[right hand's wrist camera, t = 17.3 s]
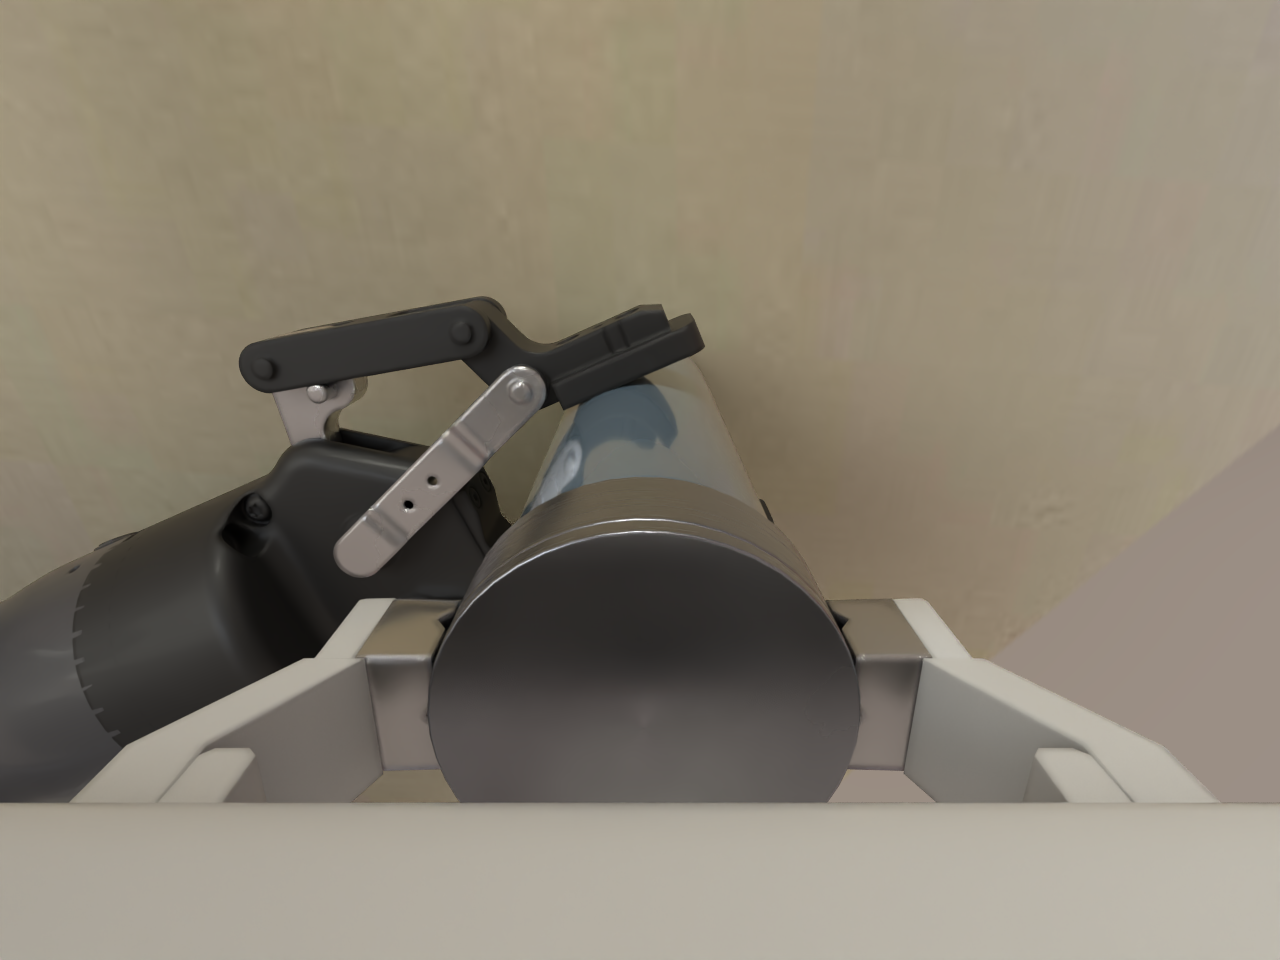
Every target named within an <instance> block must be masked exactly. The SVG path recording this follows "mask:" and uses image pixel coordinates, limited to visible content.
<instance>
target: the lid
mask: <svg viewBox="0 0 1280 960" xmlns="http://www.w3.org/2000/svg"><path fill="white" fill-rule="evenodd" d="M860 702H861V696H860V689H859V683H858V677H857V671H856V668H855V665H854V662H853V659H852V656H851V653H850V650H849V648H848V646H847V644H846V642H845V640H844V638H843V636H842V634H841V632H840V630H839V628H838V626H837V624H836V622H835V620H834V618H833V616H832V614H831V612H830V610H829V608H828V606H827V604H826V602H825V600H824V598H823V596H822V594H821V592H820V590H819V588H818V586H817V584H816V582H815V580H814V578H813V576H812V574H811V572H810V570H809V568H808V566H807V564H806V562H805V560H804V559H803V557H802V556H801V555H800V553H799V552H798V551H797V549H796V548H795V546H794V545H793V544H792V542H791V541H790V540H789V539H788V538H787V537H786V536H785V535H784V534H783V533H782V532H781V531H780V530H779V529H778V528H777V527H776V525H774V524H773V523H772V522H771V521H769V520H768V519H767V518H766V517H764V516H763V515H762V514H760V513H759V512H758V511H757V510H755V509H753V508H752V507H750V506H748V505H746V504H745V503H743V502H741V501H740V500H738V499H736V498H734V497H732V496H730V495H727V494H725V493H722V492H720V491H718V490H715V489H713V488H710V487H706V486H703V485H699V484H695V483H692V482H688V481H682V480H676V479H669V478H662V477H629V478H619V479H609V480H605V481H600V482H596V483H592V484H587V485H583V486H581V487H578V488H575V489H573V490H570V491H567V492H564V493H562V494H559V495H557V496H556V497H554V498H552V499H550V500H548V501H546V502H544V503H542V504H540V505H538V506H537V507H535V508H534V509H533V510H531V511H530V512H528V513H527V514H526V515H524V516H523V517H521V518H520V519H518V520H517V521H516V522H515V523H514V524H513V525H512V526H511V527H510V528H509V529H508V530H507V531H506V532H505V533H503V534H502V535H501V537H500V538H499V539H498V540H497V542H496V543H495V544H494V545H493V546H492V548H491V549H490V550H489V551H488V553H487V554H486V556H485V558H484V559H483V561H482V563H481V564H480V566H479V568H478V570H477V571H476V573H475V575H474V577H473V579H472V581H471V584H470V586H469V588H468V590H467V592H466V594H465V596H464V598H463V600H462V602H461V604H460V606H459V608H458V610H457V612H456V615H455V617H454V619H453V621H452V623H451V625H450V627H449V629H448V631H447V633H446V635H445V637H444V639H443V642H442V644H441V647H440V649H439V652H438V654H437V657H436V659H435V662H434V664H433V669H432V673H431V678H430V682H429V687H428V703H427V715H428V725H429V734H430V738H431V742H432V746H433V750H434V753H435V757H436V760H437V762H438V764H439V767H440V769H441V771H442V773H443V776H444V778H445V780H446V781H447V783H448V785H449V786H450V788H451V790H452V791H453V793H454V794H455V796H456V798H457V799H458V800H459V802H460V803H827V802H828V801H829V799H830V798H831V797H832V795H833V794H834V792H835V791H836V789H837V788H838V786H839V785H840V783H841V781H842V779H843V777H844V775H845V773H846V771H847V769H848V767H849V764H850V761H851V758H852V755H853V752H854V749H855V746H856V743H857V737H858V731H859V725H860Z"/></svg>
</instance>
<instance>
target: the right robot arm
mask: <svg viewBox="0 0 1280 960" xmlns="http://www.w3.org/2000/svg"><path fill="white" fill-rule="evenodd" d="M461 602H462V600H442V599H396V598H375V599H362V600H359V601H358V603H357V604H356V605H355V606H354V608H353V609H352V610H351V612H350V613H349V614H348V616H347V617H346V618H345V619H344V621H343V622H342V623H341V625H340V626H339V627H338V628H337V630H336V631H335V632H334V634H333V635H332V636H331V638H330V639H329V640H328V641H327V643H326V644H325V645H324V647H323V648H322V649H321V651H320V652H319V653H318V654H317V656H316V657H315V658H304V659H301V660H299V661H297V662H295V663H293V664H291V665H289V666H287V667H285V668H283V669H281V670H279V671H277V672H275V673H273V674H271V675H269V676H267V677H265V678H263V679H261V680H259V681H257V682H255V683H252V684H250V685H248V686H246V687H244V688H242V689H240V690H238V691H236V692H234V693H232V694H230V695H228V696H226V697H224V698H222V699H220V700H218V701H216V702H214V703H212V704H210V705H208V706H206V707H203V708H201V709H199V710H197V711H195V712H193V713H191V714H189V715H187V716H185V717H183V718H181V719H179V720H177V721H175V722H173V723H171V724H169V725H167V726H165V727H163V728H161V729H159V730H157V731H154V732H152V733H150V734H148V735H146V736H144V737H142V738H140V739H138V740H136V741H134V742H132V743H130V744H128V745H126V746H125V747H124V748H123V749H122V750H121V751H120V752H119V753H118V754H117V755H116V756H115V757H114V758H113V759H112V760H111V761H110V762H109V763H108V764H107V765H106V766H105V767H104V768H103V769H102V770H101V771H100V772H99V773H98V774H97V775H96V776H95V777H94V778H93V779H92V780H91V781H90V782H89V783H88V784H87V785H86V786H85V787H84V788H83V789H82V790H81V791H80V792H79V793H78V794H77V795H76V796H75V797H74V798H73V799H72V800H71V801H70V802H69V803H0V960H1280V803H1221V802H1220V801H1219V800H1218V799H1217V798H1216V797H1215V796H1214V795H1213V794H1212V793H1211V792H1210V791H1209V790H1208V789H1207V788H1206V787H1205V786H1204V785H1203V784H1202V783H1201V782H1200V781H1199V780H1198V779H1197V778H1196V777H1195V776H1194V775H1193V774H1192V773H1191V772H1190V771H1189V770H1188V769H1187V768H1186V767H1185V766H1184V765H1183V764H1182V763H1181V762H1180V761H1179V760H1178V759H1177V758H1176V757H1175V756H1174V755H1173V754H1172V753H1171V752H1170V751H1169V750H1168V749H1166V748H1165V747H1164V746H1163V745H1161V744H1159V743H1157V742H1155V741H1152V740H1150V739H1148V738H1146V737H1144V736H1142V735H1140V734H1138V733H1136V732H1134V731H1132V730H1130V729H1128V728H1126V727H1124V726H1122V725H1120V724H1118V723H1115V722H1113V721H1111V720H1109V719H1107V718H1105V717H1103V716H1101V715H1099V714H1097V713H1095V712H1093V711H1091V710H1089V709H1087V708H1085V707H1083V706H1080V705H1078V704H1076V703H1074V702H1072V701H1070V700H1068V699H1066V698H1064V697H1062V696H1060V695H1058V694H1056V693H1054V692H1052V691H1050V690H1048V689H1046V688H1044V687H1041V686H1039V685H1037V684H1035V683H1033V682H1031V681H1029V680H1027V679H1025V678H1023V677H1021V676H1019V675H1017V674H1015V673H1013V672H1011V671H1009V670H1006V669H1005V668H1002V667H1000V666H998V665H996V664H994V663H992V662H990V661H988V660H986V659H984V658H972V657H971V655H970V654H969V653H968V651H967V650H966V649H965V648H964V646H963V645H962V644H961V643H960V641H959V640H958V639H957V638H956V636H955V635H954V634H953V633H952V631H951V630H950V629H949V628H948V626H947V625H946V624H945V623H944V621H943V620H942V619H941V617H940V616H939V615H938V614H937V612H936V611H935V610H934V609H933V607H932V606H931V605H930V604H929V602H928V601H927V600H924V599H922V598H905V599H863V600H826V601H825V602H826V604H827V606H828V608H829V610H830V612H831V614H832V616H833V618H834V620H835V622H836V624H837V626H838V628H839V630H840V632H841V634H842V636H843V638H844V640H845V642H846V644H847V646H848V648H849V650H850V653H851V656H852V659H853V662H854V665H855V668H856V671H857V677H858V683H859V689H860V696H861V702H860V725H859V731H858V737H857V743H856V746H855V749H854V752H853V755H852V758H851V761H850V764H849V767H848V769H858V770H895V771H904V774H905V775H906V776H907V777H908V778H909V779H911V780H912V781H913V782H914V783H915V784H916V785H917V786H919V787H920V788H921V789H922V790H923V791H924V792H925V793H927V794H928V795H929V796H930V797H931V798H932V799H933V800H934V801H936V802H937V803H351V802H352V801H353V800H354V799H355V798H356V797H358V796H359V795H360V794H361V793H362V792H363V791H364V790H366V789H367V788H368V787H369V786H370V785H371V784H372V783H373V782H375V781H376V780H377V779H378V778H379V777H380V776H381V775H383V771H392V770H427V769H440V767H439V764H438V762H437V760H436V757H435V753H434V750H433V746H432V742H431V738H430V734H429V725H428V715H427V703H428V687H429V682H430V678H431V673H432V669H433V664H434V662H435V659H436V657H437V654H438V652H439V649H440V647H441V644H442V642H443V639H444V637H445V635H446V633H447V631H448V629H449V627H450V625H451V623H452V621H453V619H454V617H455V615H456V612H457V610H458V608H459V606H460V604H461Z"/></svg>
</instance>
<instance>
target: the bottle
mask: <svg viewBox="0 0 1280 960" xmlns="http://www.w3.org/2000/svg"><path fill="white" fill-rule="evenodd" d="M629 477H662V478H669V479H676V480H682V481H688V482H692V483H695V484H699V485H703V486H706V487H710V488H713V489H715V490H718V491H720V492H722V493H725V494H727V495H730V496H732V497H734V498H736V499H738V500H740V501H741V502H743V503H745V504H746V505H748V506H750V507H752V508H753V509H755V510H757V511H758V512H759V513H760V514H762V515H763V516H764V517H766V518H767V516H766V514H765V512H764V509H763V507H762V505H761V503H760V501H759V498H758V496H757V494H756V492H755V489H754V487H753V485H752V483H751V481H750V478H749V476H748V474H747V472H746V469H745V467H744V465H743V463H742V460H741V458H740V456H739V454H738V452H737V449H736V447H735V445H734V443H733V440H732V438H731V436H730V434H729V431H728V429H727V427H726V425H725V423H724V420H723V418H722V416H721V414H720V411H719V409H718V407H717V405H716V403H715V400H714V398H713V396H712V394H711V391H710V389H709V387H708V385H707V382H706V380H705V378H704V376H703V374H702V372H701V371H700V369H699V367H698V366H697V365H696V364H695V362H694V361H693V360H692V359H691V358H690V357H687V358H685V359H683V360H680V361H678V362H676V363H673V364H671V365H669V366H666V367H664V368H662V369H659V370H657V371H655V372H652V373H650V374H648V375H645V376H643V377H641V378H638V379H636V380H634V381H631V382H629V383H627V384H624V385H622V386H620V387H617V388H615V389H613V390H610V391H608V392H604V393H602V394H600V395H598V396H596V397H594V398H592V399H590V400H587V401H585V402H583V403H580V404H578V405H576V406H573V407H571V408H569V409H566V410H565V411H564V413H563V416H562V418H561V420H560V423H559V425H558V428H557V430H556V432H555V435H554V437H553V439H552V442H551V444H550V447H549V449H548V451H547V454H546V456H545V458H544V461H543V463H542V465H541V468H540V470H539V473H538V475H537V477H536V480H535V482H534V484H533V487H532V489H531V492H530V494H529V496H528V499H527V501H526V503H525V506H524V508H523V510H522V513H521V515H520V518H521V517H523V516H524V515H526V514H527V513H528V512H530V511H531V510H533V509H534V508H535V507H537V506H538V505H540V504H542V503H544V502H546V501H548V500H550V499H552V498H554V497H556V496H557V495H559V494H562V493H564V492H567V491H570V490H573V489H575V488H578V487H581V486H583V485H587V484H592V483H596V482H600V481H605V480H609V479H619V478H629ZM520 518H519V519H520ZM767 519H768V518H767Z"/></svg>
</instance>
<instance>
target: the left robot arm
mask: <svg viewBox="0 0 1280 960" xmlns="http://www.w3.org/2000/svg"><path fill="white" fill-rule="evenodd" d="M704 347H705V345H704V342H703V340H702V337H701V335H700V332H699V330H698V327H697V325H696V322H695V320H694V318H693V316H692V315H691V314H690V313H689V314H684V315H681V316H679V317H676V318H674V319H671V320H669V321H668V320H667V317H666V315H665V312H664V310H663V307H662V305H661V304H656V305H639V306H637V307H634V308H632V309H630V310H628V311H625V312H623V313H621V314H619V315H616V316H614V317H612V318H610V319H607V320H605V321H603V322H601V323H598V324H596V325H594V326H592V327H589V328H587V329H585V330H583V331H580V332H578V333H576V334H574V335H571V336H569V337H567V338H565V339H562V340H560V341H558V342H555V343H551V344H540V343H536V342H533V341H531V340H529V339H528V338H526V337H525V336H524V335H523V334H522V333H521V332H520V331H519V330H518V329H517V328H516V327H515V326H514V325H513V324H512V323H511V322H510V321H509V320H508V319H507V316H506V313H505V311H504V309H503V307H502V306H501V305H500V304H499V303H498V302H497V301H496V300H494V299H492V298H490V297H485V296H480V297H474V298H468V299H463V300H458V301H452V302H447V303H441V304H436V305H430V306H425V307H419V308H414V309H409V310H403V311H398V312H392V313H387V314H381V315H376V316H370V317H365V318H359V319H354V320H349V321H343V322H338V323H332V324H327V325H321V326H316V327H310V328H305V329H301V330H298V331H294V332H291V333H287V334H283V335H280V336H276V337H273V338H269V339H266V340H262V341H259V342H255V343H252V344H250V345H248V346H247V347H245V348H244V350H243V351H242V352H241V354H240V357H239V368H240V372H241V374H242V376H243V378H244V379H245V381H246V382H247V383H248V384H249V385H250V386H251V387H253V388H254V389H256V390H258V391H261V392H264V393H272V394H273V396H274V399H275V402H276V404H277V407H278V410H279V413H280V415H281V418H282V421H283V423H284V426H285V429H286V432H287V434H288V437H289V440H290V442H291V445H292V446H291V447H289V448H288V449H287V450H286V451H285V452H284V453H283V454H282V455H281V457H280V458H279V460H278V462H277V464H276V466H275V467H274V469H273V470H272V471H271V472H270V473H269V474H268V475H266V476H263V477H261V478H259V479H257V480H254V481H252V482H250V483H248V484H245V485H243V486H241V487H238V488H236V489H234V490H232V491H229V492H227V493H225V494H223V495H220V496H218V497H216V498H214V499H211V500H209V501H207V502H205V503H202V504H200V505H198V506H196V507H193V508H191V509H189V510H186V511H184V512H182V513H180V514H177V515H175V516H173V517H171V518H168V519H166V520H164V521H162V522H159V523H157V524H155V525H152V526H150V527H148V528H146V529H144V530H141V531H139V532H134V533H130V534H126V535H123V536H120V537H117V538H114V539H112V540H109V541H107V542H104V543H102V544H100V545H99V547H98V548H96V549H94V552H92V553H89V554H87V555H85V556H83V557H81V558H78V559H76V560H74V561H72V562H70V563H67V564H65V565H63V566H61V567H59V568H57V569H55V570H53V571H51V572H49V573H47V574H46V575H44V576H42V577H41V578H39V579H38V580H36V581H34V582H33V583H31V584H30V585H28V586H26V587H25V588H23V589H22V590H20V591H19V592H17V593H16V594H14V595H13V596H11V597H10V598H8V599H6V600H4V601H2V602H0V803H69V802H70V801H71V800H72V799H73V798H74V797H75V796H76V795H77V794H78V793H79V792H80V791H81V790H82V789H83V788H84V787H85V786H86V785H87V784H88V783H89V782H90V781H91V780H92V779H93V778H94V777H95V776H96V775H97V774H98V773H99V772H100V771H101V770H102V769H103V768H104V767H105V766H106V765H107V764H108V763H109V762H110V761H111V760H112V759H113V758H114V757H115V756H116V755H117V754H118V753H119V752H120V751H121V750H122V749H123V748H124V747H125V746H126V745H128V744H130V743H132V742H134V741H136V740H138V739H140V738H142V737H144V736H146V735H148V734H150V733H152V732H154V731H157V730H159V729H161V728H163V727H165V726H167V725H169V724H171V723H173V722H175V721H177V720H179V719H181V718H183V717H185V716H187V715H189V714H191V713H193V712H195V711H197V710H199V709H201V708H203V707H206V706H208V705H210V704H212V703H214V702H216V701H218V700H220V699H222V698H224V697H226V696H228V695H230V694H232V693H234V692H236V691H238V690H240V689H242V688H244V687H246V686H248V685H250V684H252V683H255V682H257V681H259V680H261V679H263V678H265V677H267V676H269V675H271V674H273V673H275V672H277V671H279V670H281V669H283V668H285V667H287V666H289V665H291V664H293V663H295V662H297V661H299V660H301V659H304V658H315V657H316V656H317V654H318V653H319V652H320V651H321V649H322V648H323V647H324V645H325V644H326V643H327V641H328V640H329V639H330V638H331V636H332V635H333V634H334V632H335V631H336V630H337V628H338V627H339V626H340V625H341V623H342V622H343V621H344V619H345V618H346V617H347V616H348V614H349V613H350V612H351V610H352V609H353V608H354V606H355V605H356V604H357V603H358V601H359V600H362V599H375V598H396V599H442V600H463V598H464V596H465V594H466V592H467V590H468V588H469V586H470V584H471V581H472V579H473V577H474V575H475V573H476V571H477V570H478V568H479V566H480V564H481V563H482V561H483V559H484V558H485V556H486V554H487V553H488V551H489V550H490V549H491V548H492V546H493V545H494V544H495V543H496V542H497V540H498V539H499V538H500V537H501V535H502V534H503V533H505V532H506V531H507V530H508V529H509V528H510V527H511V525H510V523H509V522H508V521H507V520H506V519H505V518H504V517H503V516H502V515H501V513H500V510H499V506H498V501H497V497H496V493H495V489H494V486H493V484H492V483H491V481H490V479H489V477H488V475H487V473H486V471H485V470H484V468H483V466H484V465H485V463H486V462H487V461H488V460H489V459H490V458H491V457H492V455H493V454H494V453H495V452H496V451H497V450H498V449H499V448H500V447H501V446H502V445H503V444H505V443H506V442H507V441H508V440H509V439H510V438H511V437H512V436H513V435H514V434H515V433H516V432H517V431H518V430H519V429H520V428H521V427H522V426H523V425H524V424H525V423H526V422H527V421H528V420H529V419H530V418H531V417H532V416H533V415H534V414H535V413H536V412H537V411H538V410H540V409H543V408H545V407H547V406H549V405H552V404H554V403H556V402H560V404H561V406H562V408H563V410H566V409H569V408H571V407H573V406H576V405H578V404H580V403H583V402H585V401H587V400H590V399H592V398H594V397H596V396H598V395H600V394H602V393H604V392H608V391H610V390H613V389H615V388H617V387H620V386H622V385H624V384H627V383H629V382H631V381H634V380H636V379H638V378H641V377H643V376H645V375H648V374H650V373H652V372H655V371H657V370H659V369H662V368H664V367H666V366H669V365H671V364H673V363H676V362H678V361H680V360H683V359H685V358H687V357H690V356H692V355H694V354H696V353H697V352H699V351H701V350H702V349H703V348H704ZM455 360H462V361H463V362H465V363H466V364H467V365H468V366H469V367H470V368H471V369H472V370H473V371H474V372H475V373H476V374H477V375H478V376H479V377H480V378H481V379H482V380H483V381H484V382H485V383H486V384H487V385H488V386H489V387H488V388H487V389H486V390H485V391H484V392H483V393H482V394H481V395H480V396H479V397H478V398H477V399H476V400H475V401H474V402H473V404H472V405H471V406H470V407H469V408H468V409H467V410H466V411H465V412H464V413H463V414H462V415H461V416H460V417H459V418H458V419H457V420H456V421H455V422H454V423H453V424H452V425H451V426H450V427H449V428H448V429H447V430H446V431H445V432H444V433H443V434H442V435H441V436H440V437H439V438H438V439H437V440H436V441H435V442H434V443H433V444H432V445H431V446H425V445H420V444H416V443H411V442H406V441H401V440H396V439H392V438H387V437H382V436H377V435H373V434H368V433H363V432H358V431H353V430H349V429H344V428H339V423H338V419H339V414H340V412H341V410H342V409H343V408H345V407H347V406H348V405H350V404H352V403H353V402H355V401H357V400H359V399H360V398H361V397H362V396H363V395H364V394H365V392H366V390H367V386H368V379H367V376H371V375H377V374H382V373H388V372H393V371H399V370H405V369H410V368H416V367H422V366H427V365H433V364H438V363H444V362H450V361H455ZM759 501H760V503H761V505H762V507H763V509H764V512H765V514H766V516H767V518H768V520H769V521H771V522H772V523H773V524H774V522H773V519H772V517H771V515H770V513H769V510H768V508H767V506H766V504H765V502H764V501H763V500H761V499H759ZM774 525H775V524H774Z"/></svg>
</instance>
